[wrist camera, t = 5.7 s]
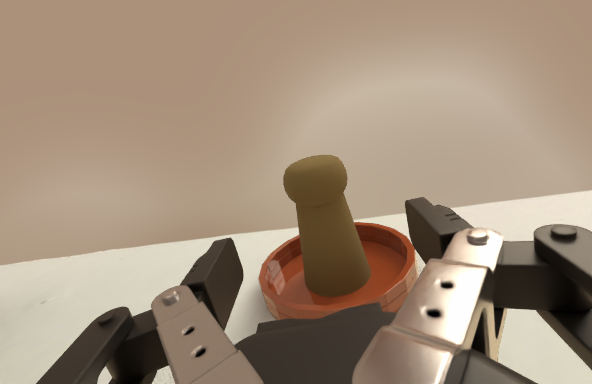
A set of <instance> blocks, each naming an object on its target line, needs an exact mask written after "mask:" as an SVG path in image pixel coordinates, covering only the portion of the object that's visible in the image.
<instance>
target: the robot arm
mask: <svg viewBox="0 0 592 384" xmlns="http://www.w3.org/2000/svg"><path fill="white" fill-rule="evenodd" d="M405 208H406V215H407V221H408V228H409V234H410V238H411V242H412V244H413V246H414V248H415V249H416V251H417V252H418V254H419V255H420V257H421V258H422V260H423V261H424V262H425V264H426V266H425V268H424V269H423V271H422V273H421V274H420V276H419V278H418V279H417V281H416V283H415V284H414V286H413V288H412V289H411V291H410V293H409V294H408V296H407V298H406V299H405V301H404V303H403V304H402V306H401V308H400V309H399V311H398V313H396V312H387V311H382V308H381V305H380V302H378V303H372V304H367V305H361V306H355V307H350V308H346V309H344V310H341V311H338V312H336V313H333V314H330V315H328V316H325V317H322V318H319V319H281V320H276V321H270V322H264V323H259V324H258V327H257V332H256V334H253V335H251V336H249V337H247V338H245V339H243V340H241V341H240V342H238V343H237V344H235V345H233V344H232V342H231V341H230V339H229V338H228V337H227V335H226V334H225V332H224V330H225V328H226V325H227V322H228V319H229V317H230V314H231V311H232V308H233V306H234V303H235V300H236V298H237V295H238V292H239V289H240V287H241V284H242V281H243V268H242V265H241V262H240V259H239V256H238V253H237V250H236V247H235V245H234V242H233V240H232V239H231V238H226V239H222V240H217V241H214V242H213V244H212V245H211V247H210V248H209V250H208V251H207V253H205V254H204V255H203V256H201V257H200V258H199V259H198V260H197V261H196V262H195V264H194V265H193V268H191V270H190V271H189V273H188V274H187V275H186V277H185V278H184V280H183V281H182V283H181V284H180V285H179V286H176V287H173V288H170V289H168V290H166V291H164V292H163V293H161V294H160V295H158V296H157V297H156V298H155V299H154V300H153V302H152V304H151V308H152V309H151V310H149V311H146V312H144V313H141V314H138V315H136V316H133V317H132V315H131V313H130V311H129V309H128V308H127V307H118V308H115V309H112V310H110V311H108V312H106V313H104V314H102V315H101V316H99V317H98V318H96V319H95V320H94V321H93V322H92V323H91V324H90V325H89V326H88V327H87V328H86V329H85V330H84V331H83V332H82V334H81V335H80V336H79V337H78V338H77V339H76V340H75V341H74V342H73V344H72V345H71V346H70V347H69V348H68V349H67V350H66V351H65V352H64V353H63V355H62V356H61V357H60V358H59V359H58V360H57V361H56V362H55V363H54V364H53V366H52V367H51V368H50V369H49V370H48V371H47V372H46V373H45V374H44V376H43V377H42V378H41V379H40V380H39V381H38V382H37V383H36V384H97V381H98V377H99V375H100V373H101V371H102V370H103V368H104V367H105V366H106V367H107V369H108V371H109V372H110V374H111V376H112V379H111V381H110V382H109V384H152V382H153V380H154V378H155V376H156V373H157V370H159V369H161V368H163V367H166V366H168V365H169V366H170V369H171V372H172V375H173V378H174V381H175V384H537V383H535V382H533V381H532V380H530V379H528V378H526V377H524V376H522V375H521V374H519V373H517V372H515V371H513V370H511V369H509V368H508V367H506V366H504V365H502V364H500V363H498V352H499V347H500V342H501V337H502V333H503V328H504V323H505V318H506V314H507V308H511V309H529V310H536V311H537V312H538V314H539V315H540V316H541V317H542V318H543V319H544V320H545V321H546V322H547V323H548V324H549V325H550V326H551V327H552V329H553V330H554V331H555V332H556V333H557V334H558V335H559V336H560V337H561V338H562V339H563V340H564V341H565V342H566V343H567V344H568V345H569V347H570V348H571V349H572V350H573V351H574V352H575V353H576V354H577V355H578V356H579V357H580V358H581V359H582V360H583V361H584V362H585V363H586V364H587V366H588V367H589V368H590V369H591V370H592V232H591V231H589V230H587V229H584V228H581V227H578V226H572V225H563V224H555V225H546V226H542V227H539V228H537V229H536V230H535V231H534V241H518V242H509V241H503V237H502V235H501V234H500V233H498V232H496V231H494V230H490V229H486V228H474V227H472V226H471V225H470V224H469V223H467V222H466V221H465V220H464V219H462V218H461V217H460V216H459V215H457V214H456V213H455V212H454V211H452V210H451V209H450V208H447V207H444V206H441V205H436V206H433V205H432V204H431V203H430V202H429V201H428V200H426V199H425V198H424V197H420V198H416V199H411V200H407V201H405Z"/></svg>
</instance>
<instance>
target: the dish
mask: <svg viewBox="0 0 592 384" xmlns="http://www.w3.org/2000/svg"><path fill="white" fill-rule="evenodd" d="M354 224H355V227H356V230H357V233H358V235H359V238H360V241H361V244H362V247H363V249H364V252H365V255H366V258H367V261H368V264H369V266H370V269H371V276H370V279H369V280H368V281H367V283H366V284H365V285H364V286H363V287H361V288H360V289H358V290H357V291H354V292H352V293H350V294H347V295H342V296H337V297H327V296H321V295H317V294H315V293H313V292H312V291H310V290H309V289H308V287H307V286H306V284H305V276H304V267H303V259H302V251H301V243H300V235H298V236H296V237H294V238H292V239H290V240H288V241H286V242H285V243H283V244H282V245H281V246H280V247H278V248H277V249H276V250H274V251H273V252H272V253H271V254H270V255H269V257H268V258H267V259H266V260H265V262H264V263H263V264H262V268H261V271H260V275H259V282H260V285H261V289H262V292H263V295H264V298H265V301H266V304H267V308H268V310H269V311H270V312H271V314H272V315H273V316H274V318H275V319H276V320H281V319H319V318H322V317H325V316H328V315H330V314H333V313H336V312H338V311H341V310H344V309H346V308H350V307H355V306H361V305H367V304H372V303H378V302H380V305H381V308H382V311H387V312H396V313H398V311H399V309H400V308H401V306H402V304H403V303H404V301H405V299H406V298H407V296H408V294H409V293H410V291H411V289H412V288H413V286H414V284H415V283H416V281H417V279H418V267H417V260H416V253H415V248H414V247H413V245H412V244H411V242H410V241H409V239H408V238H407V237H406V236H405V235H403V234H402V233H400V232H398V231H397V230H395V229H393V228H390V227H386V226H383V225H379V224H374V223H361V222H354Z"/></svg>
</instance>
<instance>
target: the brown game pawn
mask: <svg viewBox="0 0 592 384" xmlns="http://www.w3.org/2000/svg"><path fill="white" fill-rule="evenodd" d="M283 180H284V188H285V191H286V193H287V195H288V197H289V198H290V199H291V200H292V201H294V202H295V203H296V210H297V218H298V226H299V234H300V243H301V251H302V259H303V267H304V276H305V284H306V286H307V287H308V289H309V290H310V291H312V292H313V293H315V294H317V295H321V296H327V297H337V296H342V295H347V294H350V293H352V292H354V291H357V290H358V289H360V288H361V287H363V286H364V285H365V284H366V283H367V281H368V280H369V279H370V276H371V269H370V266H369V264H368V261H367V258H366V255H365V252H364V249H363V247H362V244H361V241H360V238H359V235H358V233H357V230H356V227H355V224H354V221H353V219H352V216H351V213H350V210H349V207H348V205H347V202H346V199H345V196H344V193H343V192H344V190H345V187H346V185H347V173H346V169H345V167H344V165H343V163H342V162H341V161H340V159H339V158H338V157H335V156H332V155H317V156H311V157H307V158H304V159H301V160H299V161H297V162H295V163H293V164H291V165H290V166H289V167H288V168H287V169H286V171H285V174H284V179H283Z"/></svg>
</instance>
